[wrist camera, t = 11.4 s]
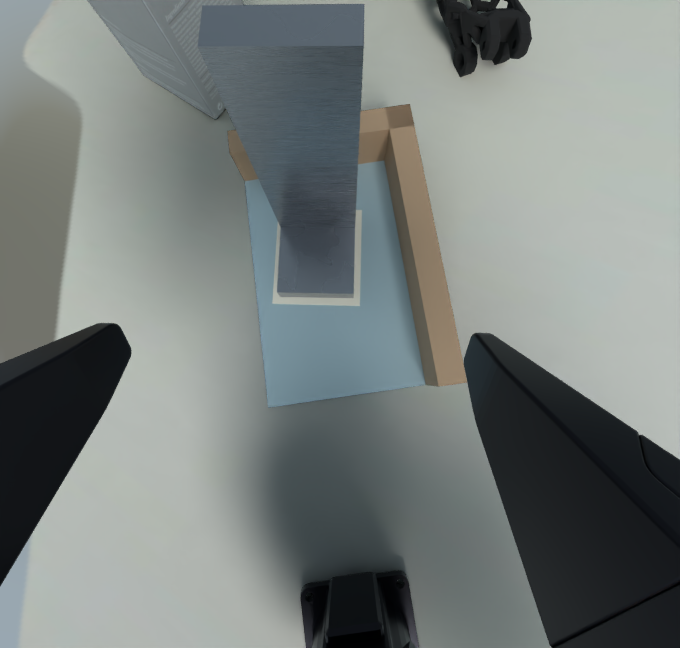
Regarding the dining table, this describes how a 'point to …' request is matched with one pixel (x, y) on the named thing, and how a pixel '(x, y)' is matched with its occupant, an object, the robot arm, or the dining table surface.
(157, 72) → the skincare box
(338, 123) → the grey tall post
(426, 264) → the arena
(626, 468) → the robot arm
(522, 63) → the dining table surface
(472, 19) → the decorative element
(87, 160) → the dining table surface
